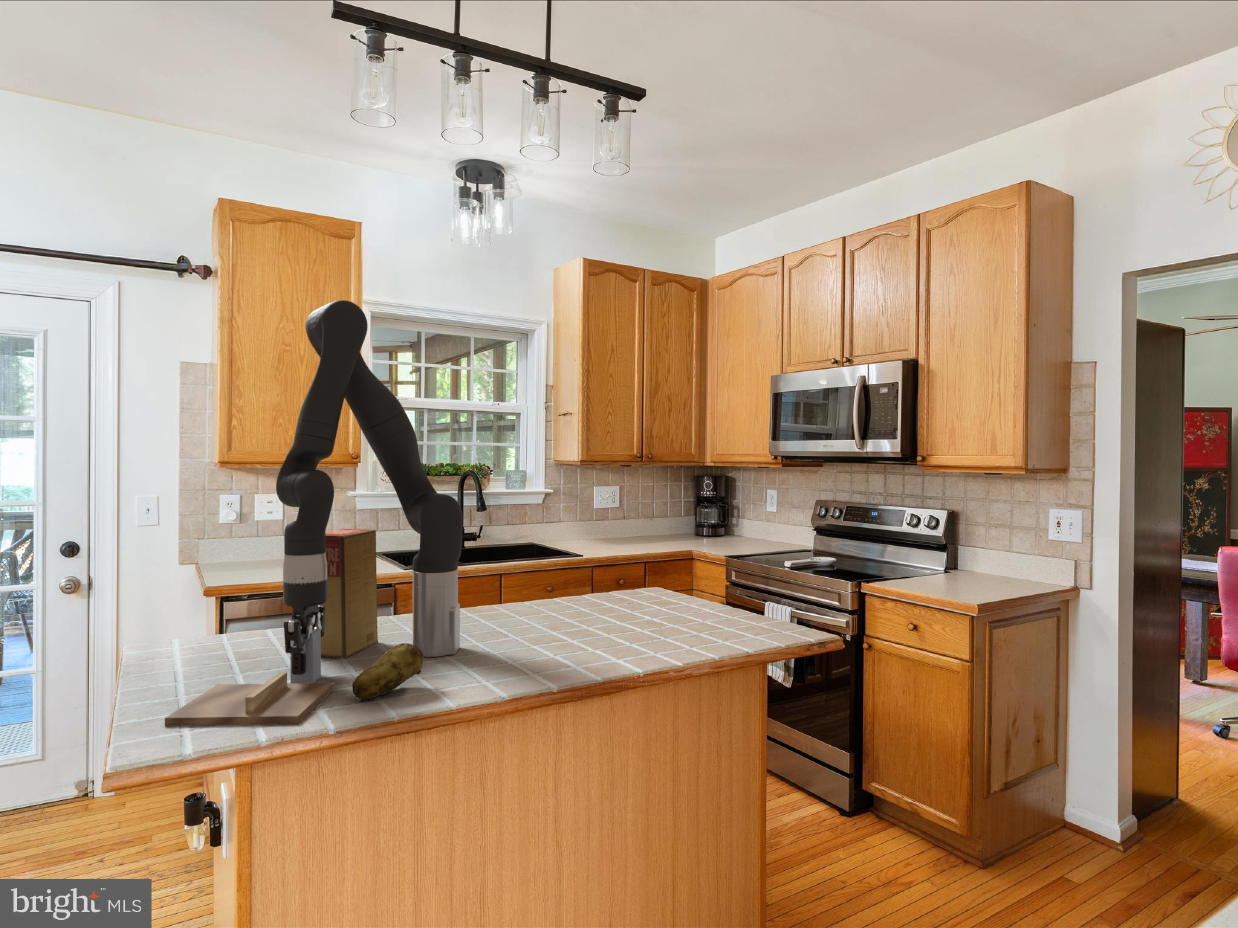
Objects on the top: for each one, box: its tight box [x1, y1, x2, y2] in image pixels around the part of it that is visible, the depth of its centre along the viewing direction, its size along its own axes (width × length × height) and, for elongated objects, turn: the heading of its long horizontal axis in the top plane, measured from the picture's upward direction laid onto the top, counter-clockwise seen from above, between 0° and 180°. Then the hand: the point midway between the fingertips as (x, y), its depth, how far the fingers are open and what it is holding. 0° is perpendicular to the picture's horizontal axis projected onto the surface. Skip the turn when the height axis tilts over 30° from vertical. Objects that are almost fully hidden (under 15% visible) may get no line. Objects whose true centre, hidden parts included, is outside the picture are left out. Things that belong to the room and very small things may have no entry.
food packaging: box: [315, 528, 379, 659], centre depth 155 cm, size 13×9×25 cm
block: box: [289, 628, 322, 684], centre depth 134 cm, size 4×4×9 cm
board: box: [164, 671, 334, 727], centre depth 120 cm, size 20×16×4 cm
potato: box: [351, 642, 424, 701], centre depth 127 cm, size 8×13×8 cm, turn 124°
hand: (305, 668), depth 134 cm, fingers open, 6 cm apart
